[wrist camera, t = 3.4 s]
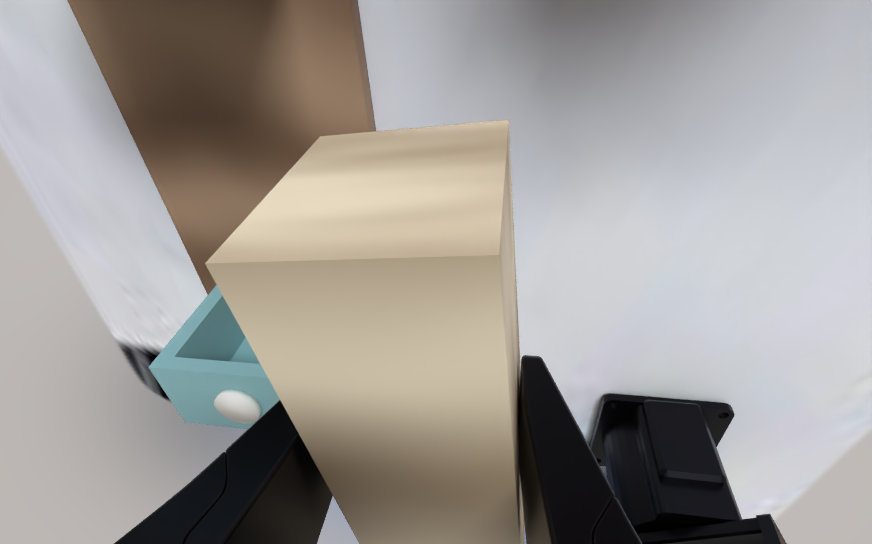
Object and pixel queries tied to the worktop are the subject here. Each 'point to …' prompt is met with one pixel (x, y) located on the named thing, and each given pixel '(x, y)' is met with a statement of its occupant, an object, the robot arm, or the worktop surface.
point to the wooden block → (393, 326)
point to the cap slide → (214, 370)
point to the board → (228, 97)
